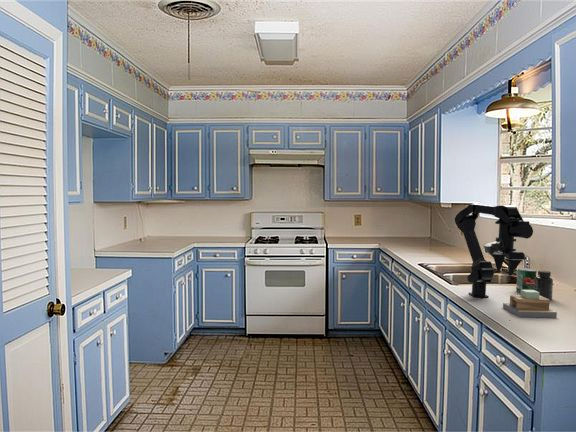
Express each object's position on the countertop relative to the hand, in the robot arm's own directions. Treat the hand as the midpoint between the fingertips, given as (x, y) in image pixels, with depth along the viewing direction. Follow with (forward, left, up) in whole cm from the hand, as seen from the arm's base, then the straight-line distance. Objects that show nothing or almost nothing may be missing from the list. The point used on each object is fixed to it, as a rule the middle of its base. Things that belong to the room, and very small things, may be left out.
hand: (504, 273), depth 176 cm
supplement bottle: (-11, +24, -13) cm, 30 cm away
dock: (+12, +4, -13) cm, 18 cm away
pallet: (+12, +4, -11) cm, 17 cm away
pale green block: (+12, +4, -7) cm, 14 cm away
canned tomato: (-21, +22, -13) cm, 33 cm away
